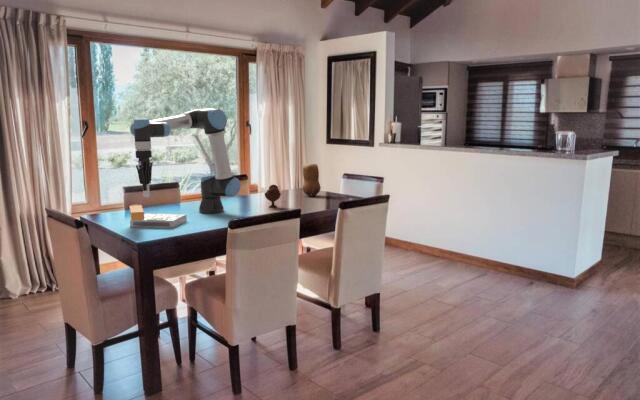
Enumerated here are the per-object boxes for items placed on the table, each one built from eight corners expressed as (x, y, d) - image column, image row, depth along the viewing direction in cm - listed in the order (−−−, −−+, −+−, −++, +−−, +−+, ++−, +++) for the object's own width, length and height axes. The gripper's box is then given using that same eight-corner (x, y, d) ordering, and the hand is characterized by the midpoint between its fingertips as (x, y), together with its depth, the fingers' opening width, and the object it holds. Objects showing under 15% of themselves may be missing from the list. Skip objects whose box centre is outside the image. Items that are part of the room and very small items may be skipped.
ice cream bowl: (262, 206, 323) (262, 184, 320) (278, 205, 326) (278, 183, 324) (266, 209, 313) (266, 186, 310) (283, 208, 317) (283, 185, 314)
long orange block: (141, 211, 264) (141, 204, 263) (144, 219, 242) (143, 211, 241) (129, 212, 262) (129, 204, 261) (131, 220, 239) (131, 212, 239)
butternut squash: (306, 194, 377) (306, 162, 373) (322, 195, 373) (322, 163, 369) (300, 197, 364) (299, 163, 360) (316, 198, 360) (316, 164, 356)
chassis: (146, 220, 277) (145, 208, 276) (186, 221, 274) (186, 209, 272) (129, 227, 259) (129, 214, 258) (172, 228, 256) (172, 215, 254)
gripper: (142, 149, 248) (145, 194, 252) (129, 150, 235) (133, 198, 239) (156, 149, 247) (159, 194, 251) (144, 150, 234) (147, 199, 238)
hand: (146, 196), depth 245 cm, fingers closed
